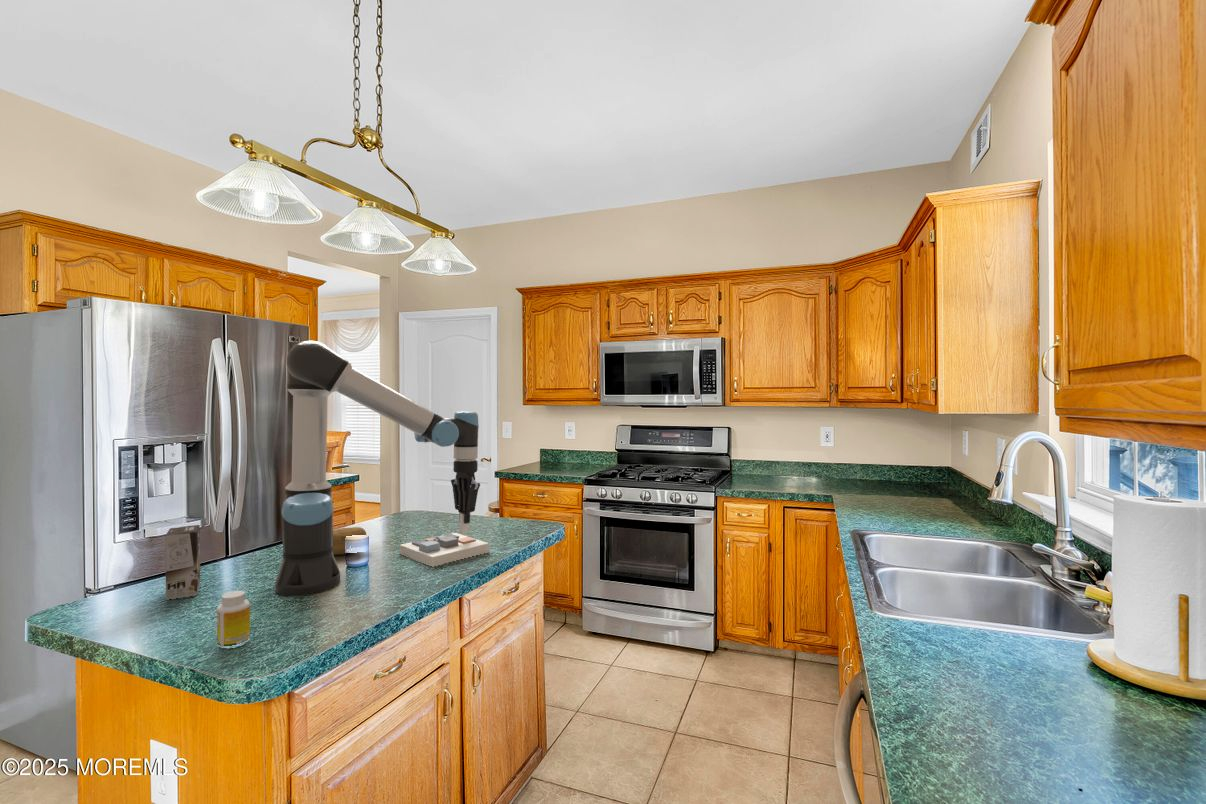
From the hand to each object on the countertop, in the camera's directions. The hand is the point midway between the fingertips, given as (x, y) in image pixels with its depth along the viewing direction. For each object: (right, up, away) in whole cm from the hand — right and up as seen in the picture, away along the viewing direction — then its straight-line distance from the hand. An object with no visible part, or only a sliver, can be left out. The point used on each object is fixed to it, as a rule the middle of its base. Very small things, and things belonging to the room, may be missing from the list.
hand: (464, 532), depth 177 cm
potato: (-37, -6, -4) cm, 38 cm away
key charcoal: (-4, -4, -5) cm, 7 cm away
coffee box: (-61, -6, -38) cm, 72 cm away
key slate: (-8, -4, -9) cm, 13 cm away
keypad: (-5, -6, -3) cm, 8 cm away
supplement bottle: (-30, -7, -66) cm, 72 cm away
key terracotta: (0, -5, 0) cm, 5 cm away
